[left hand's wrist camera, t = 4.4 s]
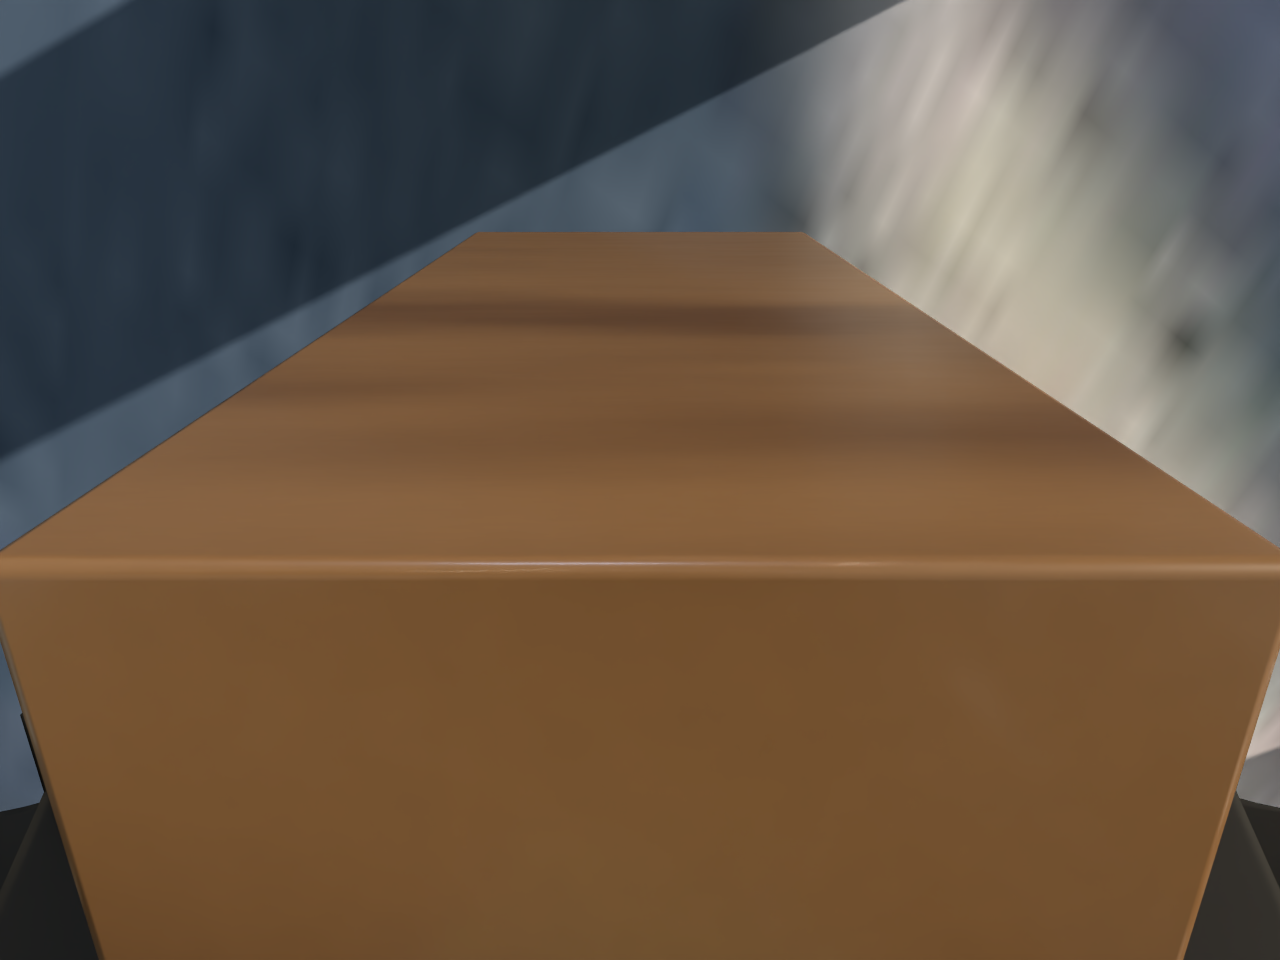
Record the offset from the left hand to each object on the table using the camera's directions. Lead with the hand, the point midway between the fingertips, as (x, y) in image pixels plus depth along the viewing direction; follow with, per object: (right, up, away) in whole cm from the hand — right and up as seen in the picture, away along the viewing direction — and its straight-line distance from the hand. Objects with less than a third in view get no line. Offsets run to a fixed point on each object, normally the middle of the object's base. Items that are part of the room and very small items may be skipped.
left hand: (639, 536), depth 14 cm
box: (0, -5, +6) cm, 7 cm away
